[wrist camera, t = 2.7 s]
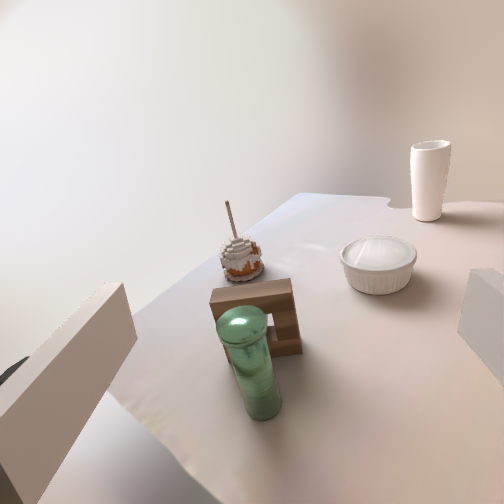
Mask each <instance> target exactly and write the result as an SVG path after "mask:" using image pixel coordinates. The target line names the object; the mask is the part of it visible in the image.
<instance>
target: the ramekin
mask: <svg viewBox="0 0 504 504" xmlns="http://www.w3.org/2000/svg"><path fill="white" fill-rule="evenodd" d="M416 259H417V252H416V250H415V248H414V247H413V245H411V244H410V243H408V242H406V241H404V240H401V239H398V238H394V237H387V236H372V237H365V238H361V239H357V240H354V241H352V242H350V243H348V244H347V245H345V246H344V247H343V248H342V250H341V252H340V261H341V263H342V265H343V267H344V271H345V274H346V278H347V280H348V282H349V283H350V285H352V286H353V287H354V288H355V289H357V290H358V291H361V292H363V293H367V294H373V295H385V294H391V293H394V292H397V291H399V290H400V289H402V288H403V287H405V286H406V285H407V283H408V282H409V280H410V277H411V273H412V270H413V266H414V264H415V262H416Z"/></svg>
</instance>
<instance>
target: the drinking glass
mask: <svg viewBox="0 0 504 504" xmlns="http://www.w3.org/2000/svg"><path fill="white" fill-rule="evenodd" d="M450 155H451V143H450V142H448V141H441V140H440V141H439V140H438V141H426V142H421V143H417V144H415V145H413V146H412V147H411V157H410V172H411V187H412V204H413V217H414V218H415V219H416V220H419V221H434V220H437V219H439V218H440V216H441V213H442V204H443V198H444V193H445V187H446V182H447V176H448V171H449V165H450Z"/></svg>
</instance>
